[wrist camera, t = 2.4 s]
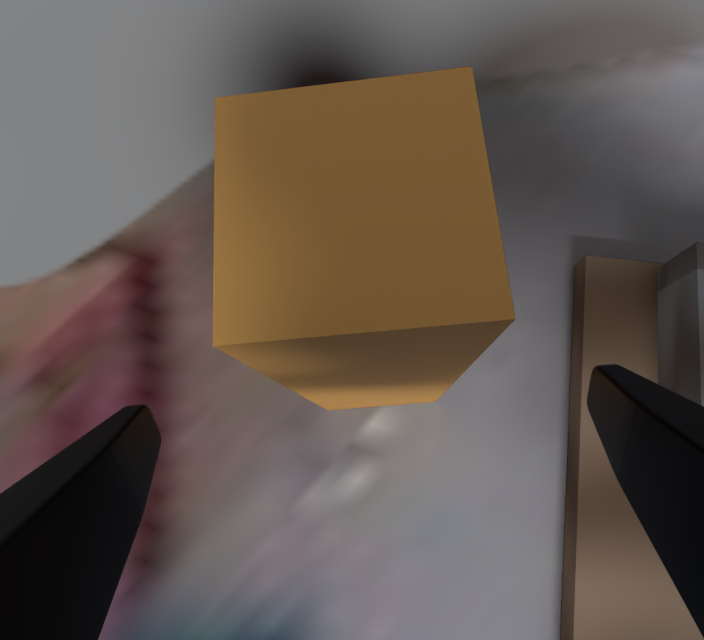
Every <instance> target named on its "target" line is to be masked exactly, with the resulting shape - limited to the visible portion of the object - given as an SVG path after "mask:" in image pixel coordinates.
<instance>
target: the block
mask: <svg viewBox="0 0 704 640" xmlns="http://www.w3.org/2000/svg"><path fill="white" fill-rule="evenodd" d="M514 320H515V314H514V308H513V302H512V297H511V291H510V285H509V279H508V273H507V267H506V262H505V256H504V250H503V244H502V238H501V232H500V227H499V221H498V215H497V209H496V203H495V197H494V192H493V186H492V180H491V174H490V168H489V163H488V157H487V151H486V145H485V139H484V133H483V128H482V122H481V116H480V110H479V104H478V98H477V93H476V87H475V81H474V75H473V69H472V66H470V67H461V68H453V69H445V70H437V71H429V72H421V73H413V74H405V75H397V76H389V77H380V78H372V79H364V80H356V81H348V82H340V83H331V84H323V85H315V86H307V87H300V88H291V89H283V90H274V91H266V92H259V93H250V94H242V95H234V96H226V97H218V98H215V159H214V268H213V347H215V348H217V349H219V350H221V351H222V352H224V353H226V354H228V355H230V356H231V357H233V358H235V359H237V360H239V361H240V362H242V363H244V364H246V365H248V366H249V367H251V368H253V369H255V370H257V371H258V372H260V373H262V374H264V375H266V376H267V377H269V378H271V379H273V380H274V381H276V382H278V383H280V384H282V385H283V386H285V387H287V388H289V389H291V390H292V391H294V392H296V393H298V394H300V395H301V396H303V397H305V398H307V399H309V400H310V401H312V402H314V403H316V404H318V405H319V406H321V407H323V408H325V409H327V410H337V409H349V408H362V407H374V406H387V405H400V404H412V403H425V402H436V401H437V400H438V399H439V397H440V396H441V395H442V394H443V393H444V392H445V391H446V390H447V389H448V388H449V387H450V386H451V385H452V384H453V383H454V382H455V381H456V380H457V379H458V378H459V377H460V376H461V375H462V374H463V373H464V372H465V371H466V370H467V369H468V368H469V366H470V365H471V364H472V363H473V362H474V361H475V360H476V359H477V358H478V357H479V356H480V355H481V354H482V353H483V352H484V351H485V350H486V349H487V348H488V347H489V346H490V345H491V344H492V343H493V342H494V341H495V340H496V339H497V338H498V337H499V335H500V334H501V333H502V332H503V331H504V330H505V329H506V328H507V327H508V326H509V325H510V324H511V323H512V322H513V321H514Z"/></svg>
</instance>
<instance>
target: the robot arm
mask: <svg viewBox="0 0 704 640" xmlns="http://www.w3.org/2000/svg"><path fill="white" fill-rule="evenodd" d="M587 407H588V410H589V413H590V416H591V418H592V420H593V423H594V425H595V428H596V430H597V433H598V435H599V438H600V440H601V443H602V445H603V447H604V450H605V452H606V455H607V457H608V460H609V462H610V465H611V467H612V469H613V472H614V474H615V476H616V478H617V480H618V482H619V484H620V486H621V488H622V490H623V492H624V494H625V496H626V497H627V499H628V501H629V503H630V505H631V506H632V508H633V510H634V512H635V514H636V516H637V517H638V519H639V521H640V523H641V525H642V527H643V528H644V530H645V532H646V534H647V536H648V538H649V539H650V541H651V543H652V545H653V547H654V549H655V550H656V552H657V554H658V556H659V558H660V559H661V561H662V563H663V565H664V567H665V569H666V570H667V572H668V574H669V576H670V578H671V580H672V581H673V583H674V585H675V587H676V589H677V591H678V592H679V594H680V596H681V598H682V600H683V601H684V603H685V605H686V607H687V609H688V611H689V612H690V614H691V616H692V618H693V620H694V622H695V623H696V625H697V627H698V629H699V631H700V633H701V634H702V636H703V638H704V406H702V405H700V404H698V403H696V402H694V401H692V400H690V399H688V398H686V397H683V396H681V395H679V394H677V393H675V392H673V391H671V390H669V389H667V388H665V387H663V386H661V385H659V384H657V383H655V382H653V381H651V380H649V379H647V378H645V377H643V376H641V375H639V374H637V373H634V372H632V371H630V370H628V369H626V368H624V367H622V366H620V365H618V364H607V365H597V366H595V367H594V368H593V370H592V373H591V378H590V383H589V389H588V394H587ZM160 446H161V435H160V432H159V429H158V427H157V425H156V422H155V420H154V417H153V415H152V413H151V410H150V409H149V407H148V406H146V405H143V404H142V405H131V406H126V407H124V408H122V409H121V410H119V411H118V412H117V413H115V414H114V415H112V416H111V417H109V418H108V419H106V420H105V421H104V422H102V423H101V424H99V425H98V426H96V427H95V428H94V429H92V430H91V431H89V432H88V433H86V434H85V435H84V436H82V437H81V438H79V439H78V440H76V441H75V442H74V443H72V444H71V445H69V446H68V447H66V448H65V449H64V450H62V451H61V452H59V453H58V454H56V455H55V456H54V457H52V458H51V459H49V460H48V461H46V462H45V463H44V464H42V465H41V466H39V467H38V468H36V469H35V470H34V471H32V472H31V473H29V474H28V475H26V476H25V477H24V478H22V479H21V480H19V481H18V482H16V483H15V484H14V485H12V486H11V487H9V488H8V489H6V490H5V491H4V492H2V493H1V494H0V640H98V638H99V635H100V633H101V630H102V627H103V624H104V622H105V619H106V616H107V613H108V611H109V608H110V605H111V602H112V600H113V597H114V594H115V591H116V589H117V586H118V583H119V580H120V578H121V575H122V572H123V569H124V566H125V564H126V561H127V558H128V555H129V553H130V550H131V547H132V544H133V542H134V539H135V536H136V533H137V531H138V528H139V525H140V522H141V519H142V516H143V513H144V510H145V506H146V503H147V499H148V495H149V491H150V487H151V483H152V479H153V475H154V470H155V466H156V462H157V458H158V454H159V450H160Z"/></svg>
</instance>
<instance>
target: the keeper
mask: <svg viewBox="0 0 704 640" xmlns="http://www.w3.org/2000/svg"><path fill="white" fill-rule="evenodd" d="M607 364H618V365H620V366H622V367H624V368H626V369H628V370H630V371H632V372H634V373H637V374H639V375H641V376H643V377H645V378H647V379H649V380H651V381H653V382H655V383H657V384H659V385H661V386H663V387H665V388H667V389H669V390H671V391H673V392H675V393H677V394H679V395H681V396H683V397H686V398H688V399H690V400H692V401H694V402H696V403H698V404H700V405H702V406H704V243H698V242H696V243H695V244H693V245H692V246H690V247H689V248H687V249H686V250H684V251H683V252H681V253H680V254H678V255H677V256H675V257H674V258H672V259H671V260H669V261H668V262H666V263H665V264H664V263H654V262H645V261H635V260H626V259H617V258H607V257H598V256H589V255H586V256H585V257H584V258H583V259H582V260H581V261H580V262H579V263H578V264H577V265H576V266H575V279H574V304H573V330H572V355H571V381H570V407H569V432H568V458H567V483H566V509H565V534H564V560H563V586H562V611H561V637H560V640H704V638H703V636H702V634H701V633H700V631H699V629H698V627H697V625H696V623H695V622H694V620H693V618H692V616H691V614H690V612H689V611H688V609H687V607H686V605H685V603H684V601H683V600H682V598H681V596H680V594H679V592H678V591H677V589H676V587H675V585H674V583H673V581H672V580H671V578H670V576H669V574H668V572H667V570H666V569H665V567H664V565H663V563H662V561H661V559H660V558H659V556H658V554H657V552H656V550H655V549H654V547H653V545H652V543H651V541H650V539H649V538H648V536H647V534H646V532H645V530H644V528H643V527H642V525H641V523H640V521H639V519H638V517H637V516H636V514H635V512H634V510H633V508H632V506H631V505H630V503H629V501H628V499H627V497H626V496H625V494H624V492H623V490H622V488H621V486H620V484H619V482H618V480H617V478H616V476H615V474H614V472H613V469H612V467H611V465H610V462H609V460H608V457H607V455H606V452H605V450H604V447H603V445H602V443H601V440H600V438H599V435H598V433H597V430H596V428H595V425H594V423H593V420H592V418H591V416H590V413H589V410H588V407H587V394H588V389H589V383H590V378H591V373H592V370H593V368H594V367H595V366H597V365H607Z"/></svg>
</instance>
